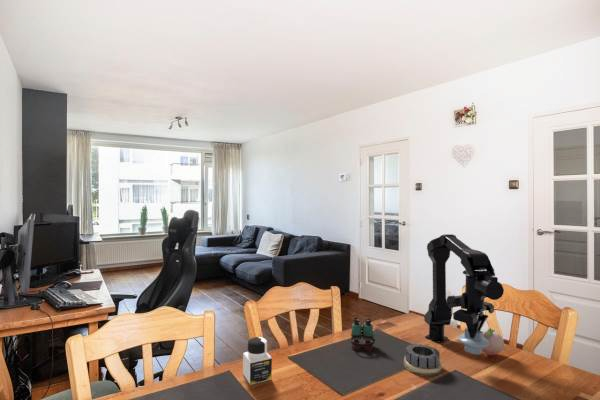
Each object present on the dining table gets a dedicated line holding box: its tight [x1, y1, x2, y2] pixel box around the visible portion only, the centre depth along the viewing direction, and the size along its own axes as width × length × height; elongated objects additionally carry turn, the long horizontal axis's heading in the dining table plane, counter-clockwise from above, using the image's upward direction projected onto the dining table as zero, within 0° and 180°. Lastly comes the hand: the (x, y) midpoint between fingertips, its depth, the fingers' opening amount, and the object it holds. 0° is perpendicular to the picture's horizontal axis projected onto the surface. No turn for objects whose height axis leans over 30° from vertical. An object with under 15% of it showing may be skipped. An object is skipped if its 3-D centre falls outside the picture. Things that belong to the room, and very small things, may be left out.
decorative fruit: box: [481, 327, 505, 356], centre depth 128 cm, size 9×8×10 cm
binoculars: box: [350, 317, 376, 352], centre depth 132 cm, size 9×11×10 cm
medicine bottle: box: [242, 336, 273, 386], centre depth 111 cm, size 7×7×12 cm
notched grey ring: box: [403, 343, 442, 377], centre depth 118 cm, size 12×12×6 cm
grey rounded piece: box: [458, 327, 489, 355], centre depth 117 cm, size 9×9×7 cm
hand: (473, 337), depth 117 cm, fingers closed on grey rounded piece
